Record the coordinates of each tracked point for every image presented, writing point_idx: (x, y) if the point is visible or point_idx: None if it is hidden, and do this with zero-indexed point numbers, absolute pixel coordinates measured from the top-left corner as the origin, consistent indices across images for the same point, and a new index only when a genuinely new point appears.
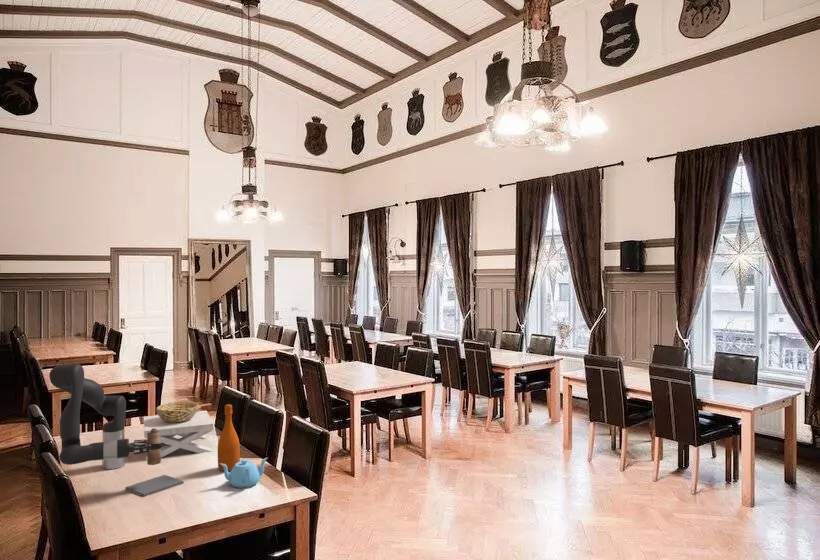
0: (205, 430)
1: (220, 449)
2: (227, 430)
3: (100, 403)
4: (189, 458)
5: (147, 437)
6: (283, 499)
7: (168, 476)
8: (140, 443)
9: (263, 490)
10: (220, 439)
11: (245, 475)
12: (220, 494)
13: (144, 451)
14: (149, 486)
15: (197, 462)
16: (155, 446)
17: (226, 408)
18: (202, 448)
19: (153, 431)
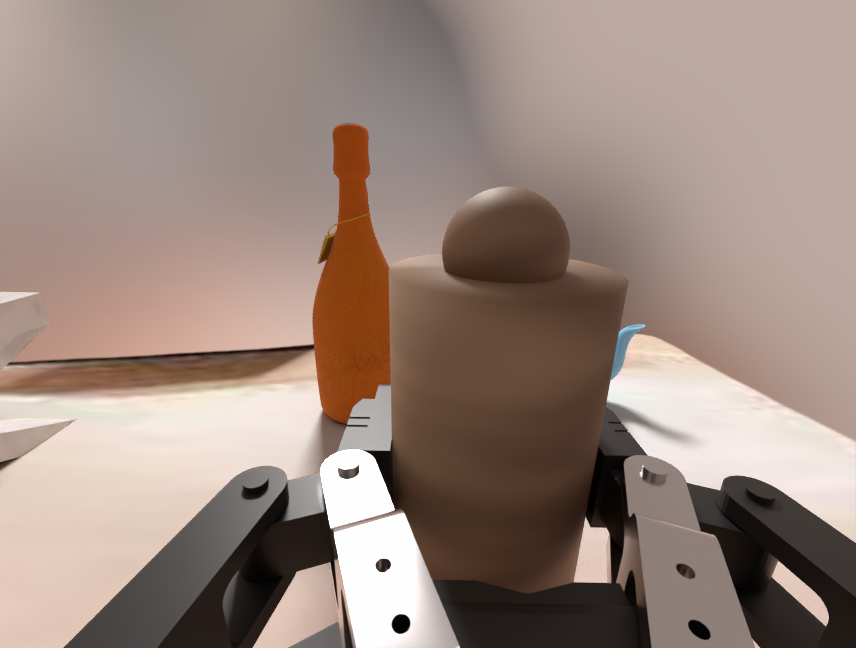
0: (11, 335)
1: (380, 337)
2: (377, 249)
3: None
4: (37, 499)
5: (544, 389)
6: (690, 361)
7: (319, 638)
8: (670, 615)
9: (618, 375)
10: (366, 295)
11: (625, 353)
12: (660, 452)
13: (807, 631)
14: None
15: (159, 476)
16: (626, 443)
17: (362, 140)
18: (23, 428)
19: (568, 235)
